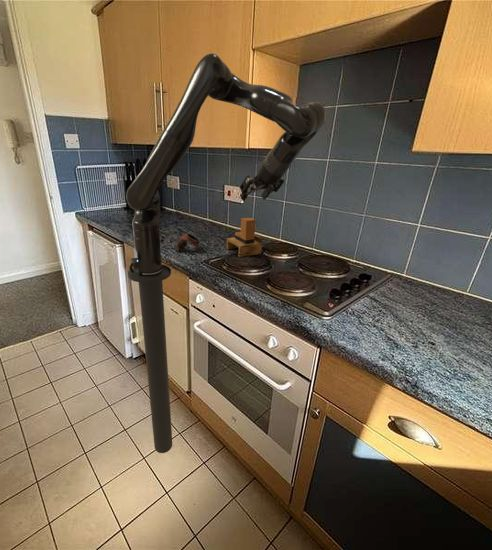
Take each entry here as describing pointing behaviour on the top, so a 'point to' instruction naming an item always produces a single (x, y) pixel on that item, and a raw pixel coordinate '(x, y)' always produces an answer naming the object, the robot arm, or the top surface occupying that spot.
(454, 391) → the top surface
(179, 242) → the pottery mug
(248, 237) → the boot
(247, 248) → the tan wooden block
